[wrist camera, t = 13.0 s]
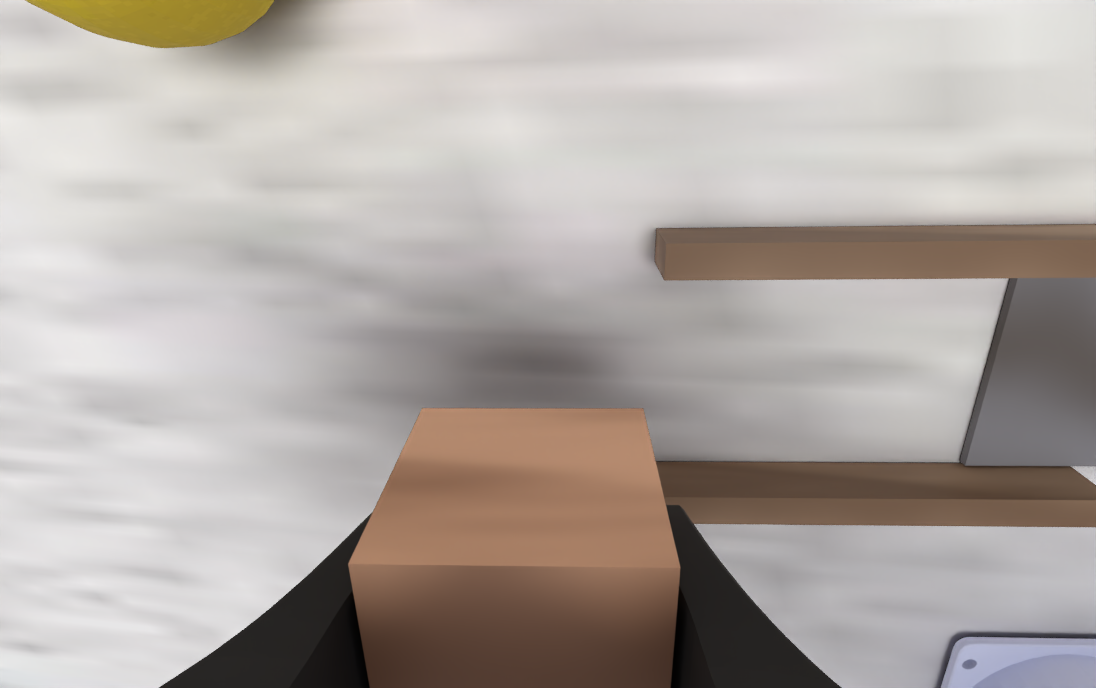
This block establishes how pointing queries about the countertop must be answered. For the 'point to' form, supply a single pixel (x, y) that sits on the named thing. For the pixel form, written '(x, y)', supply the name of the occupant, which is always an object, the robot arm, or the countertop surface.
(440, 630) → the block
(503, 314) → the countertop surface
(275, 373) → the countertop surface
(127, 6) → the lemon
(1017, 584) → the countertop surface
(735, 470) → the channel
